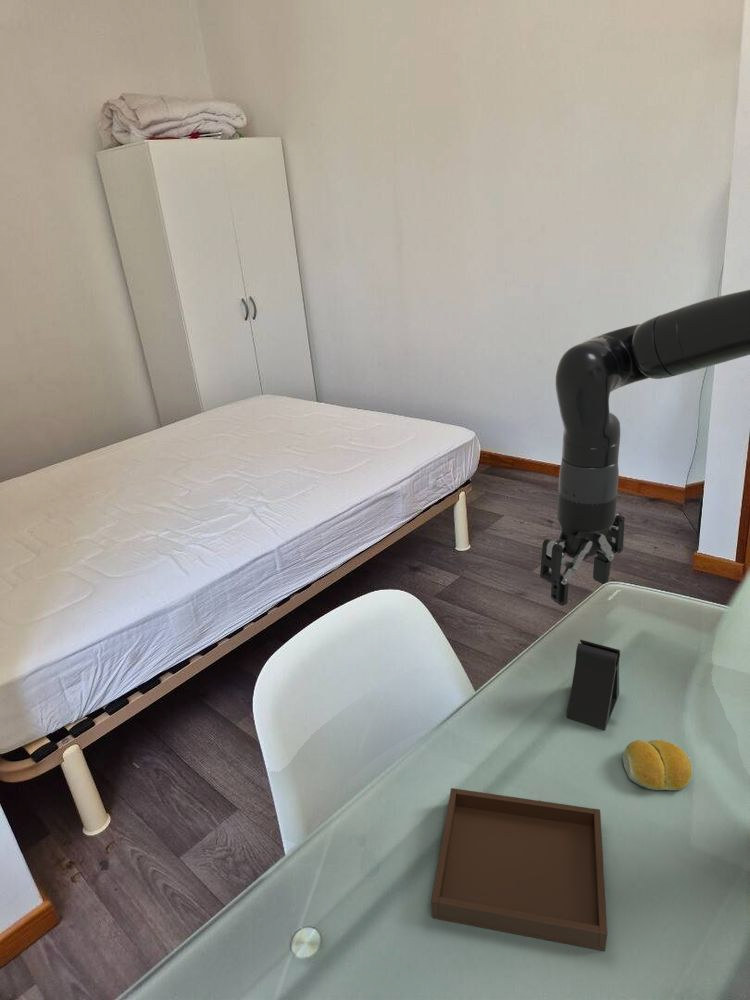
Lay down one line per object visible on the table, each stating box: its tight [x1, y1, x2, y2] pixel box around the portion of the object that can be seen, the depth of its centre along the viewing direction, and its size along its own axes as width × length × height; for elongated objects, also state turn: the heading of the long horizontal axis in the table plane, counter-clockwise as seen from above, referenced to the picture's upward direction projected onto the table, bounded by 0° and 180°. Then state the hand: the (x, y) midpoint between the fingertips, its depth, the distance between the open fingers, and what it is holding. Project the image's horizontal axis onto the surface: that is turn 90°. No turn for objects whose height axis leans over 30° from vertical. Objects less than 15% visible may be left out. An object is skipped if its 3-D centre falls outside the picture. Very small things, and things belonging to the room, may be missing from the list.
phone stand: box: [566, 639, 621, 731], centre depth 108 cm, size 9×6×12 cm, turn 149°
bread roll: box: [622, 739, 693, 791], centre depth 98 cm, size 8×9×4 cm
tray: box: [430, 787, 608, 952], centre depth 86 cm, size 20×17×3 cm
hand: (580, 591), depth 98 cm, fingers open, 8 cm apart
